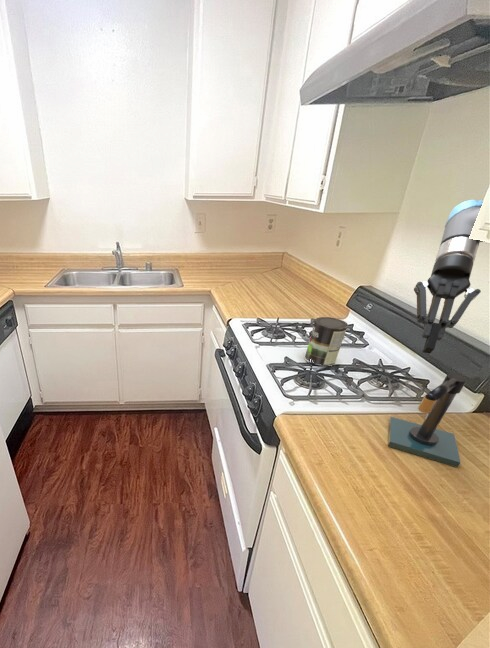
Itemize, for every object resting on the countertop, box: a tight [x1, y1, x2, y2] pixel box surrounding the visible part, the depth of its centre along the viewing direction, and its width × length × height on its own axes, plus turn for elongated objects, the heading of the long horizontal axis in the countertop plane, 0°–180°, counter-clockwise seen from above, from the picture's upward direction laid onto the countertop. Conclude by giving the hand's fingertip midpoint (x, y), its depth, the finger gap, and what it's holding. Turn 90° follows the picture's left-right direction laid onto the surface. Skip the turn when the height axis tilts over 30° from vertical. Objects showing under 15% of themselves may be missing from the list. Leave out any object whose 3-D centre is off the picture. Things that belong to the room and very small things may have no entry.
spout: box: [417, 373, 468, 414], centre depth 73 cm, size 15×4×4 cm, turn 126°
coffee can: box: [304, 316, 349, 366], centre depth 118 cm, size 10×10×14 cm
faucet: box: [387, 392, 462, 468], centre depth 81 cm, size 14×12×15 cm
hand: (428, 350), depth 81 cm, fingers closed
